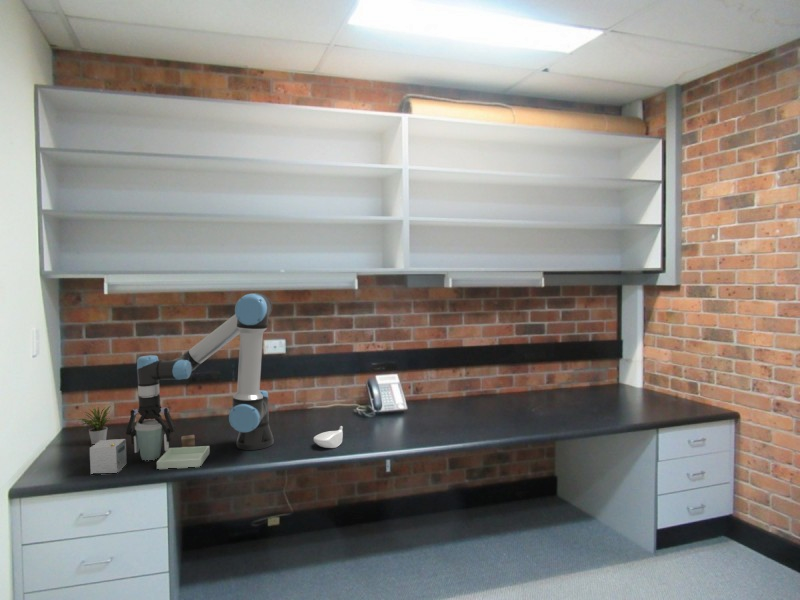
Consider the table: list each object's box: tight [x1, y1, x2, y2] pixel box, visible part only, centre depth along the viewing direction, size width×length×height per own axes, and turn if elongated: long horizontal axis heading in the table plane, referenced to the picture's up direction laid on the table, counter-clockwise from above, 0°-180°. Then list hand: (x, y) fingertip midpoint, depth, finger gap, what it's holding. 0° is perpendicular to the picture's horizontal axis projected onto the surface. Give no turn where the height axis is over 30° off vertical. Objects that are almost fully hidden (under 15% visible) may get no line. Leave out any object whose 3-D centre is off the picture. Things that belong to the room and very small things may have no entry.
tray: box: [156, 445, 211, 470], centre depth 201 cm, size 15×15×3 cm
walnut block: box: [181, 434, 196, 447], centre depth 215 cm, size 5×5×5 cm
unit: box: [89, 438, 128, 475], centre depth 193 cm, size 10×9×10 cm
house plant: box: [77, 405, 113, 445], centre depth 225 cm, size 14×14×16 cm
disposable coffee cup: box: [134, 419, 164, 462], centre depth 204 cm, size 11×11×15 cm
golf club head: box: [313, 425, 344, 449], centre depth 218 cm, size 10×11×12 cm
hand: (151, 450), depth 204 cm, fingers open, 10 cm apart
